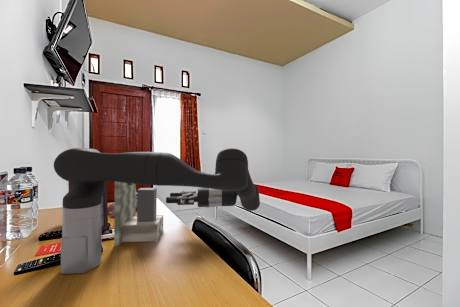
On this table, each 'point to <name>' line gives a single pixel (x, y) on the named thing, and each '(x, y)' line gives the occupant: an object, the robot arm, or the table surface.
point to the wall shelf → (132, 218)
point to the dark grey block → (146, 204)
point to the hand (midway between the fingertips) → (168, 197)
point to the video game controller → (112, 209)
